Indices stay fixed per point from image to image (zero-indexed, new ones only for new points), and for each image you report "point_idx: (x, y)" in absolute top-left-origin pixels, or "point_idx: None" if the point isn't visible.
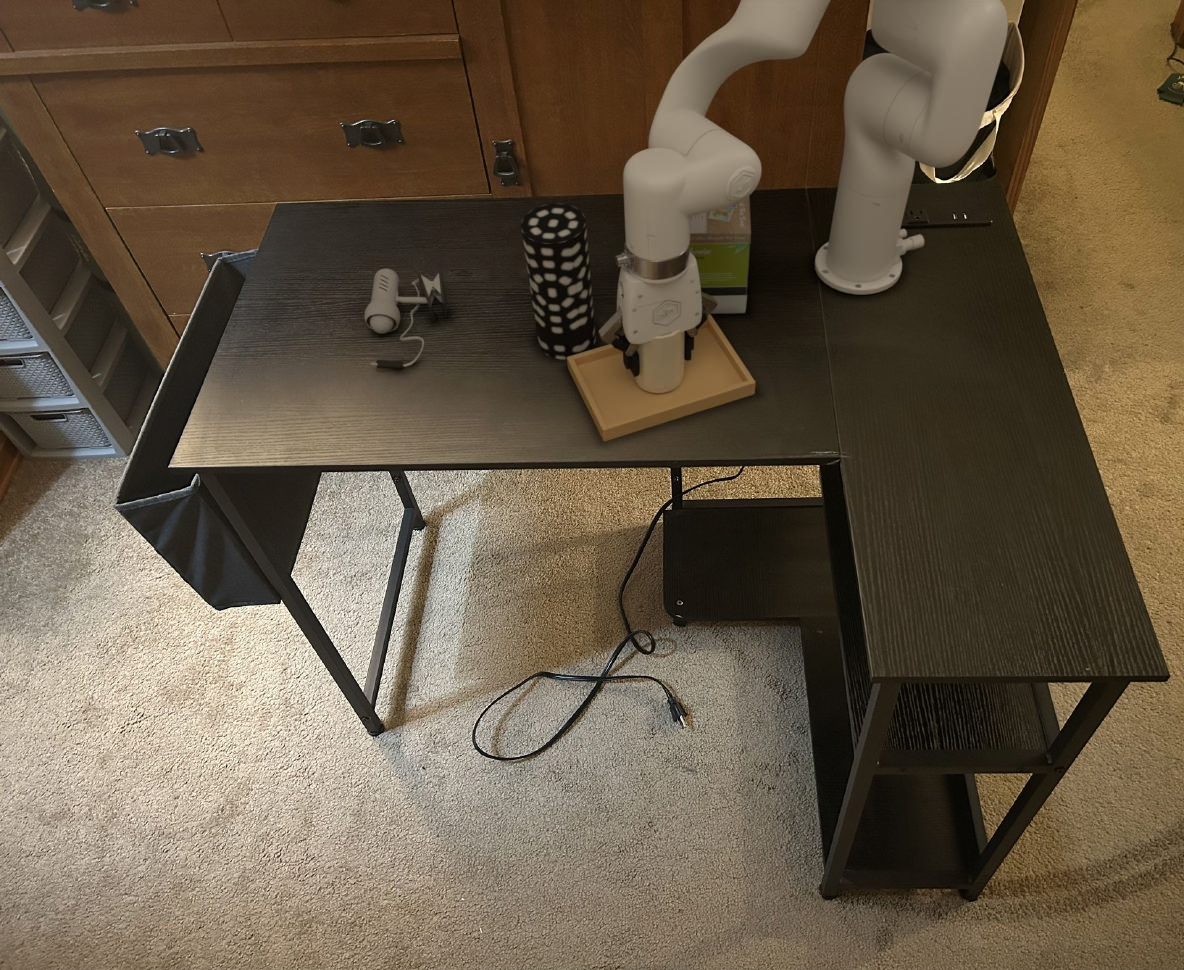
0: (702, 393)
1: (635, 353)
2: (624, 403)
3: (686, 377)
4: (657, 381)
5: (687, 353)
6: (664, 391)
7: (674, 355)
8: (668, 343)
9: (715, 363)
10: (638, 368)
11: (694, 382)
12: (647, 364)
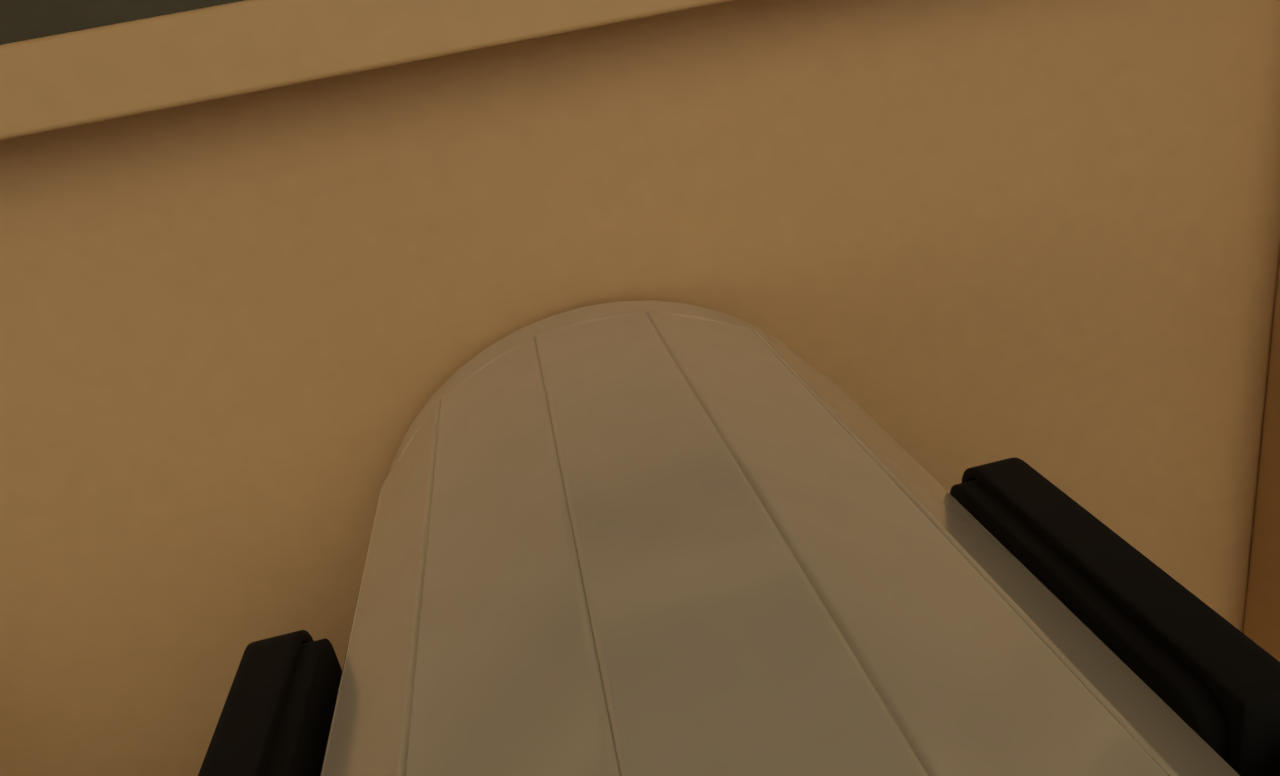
0: (193, 237)
1: (1266, 747)
2: (1022, 252)
3: (351, 488)
4: (749, 363)
5: (279, 726)
6: (629, 304)
7: (555, 645)
8: None
9: (10, 630)
10: (1027, 536)
11: (271, 410)
12: (989, 547)
